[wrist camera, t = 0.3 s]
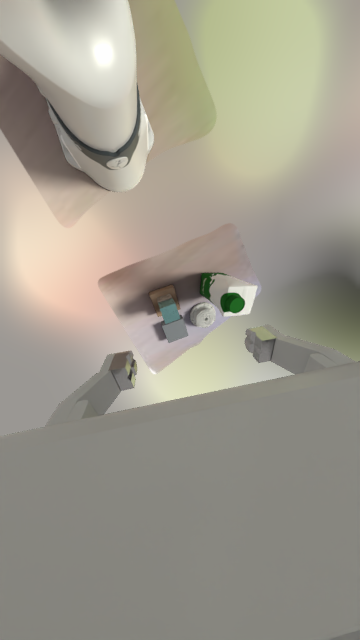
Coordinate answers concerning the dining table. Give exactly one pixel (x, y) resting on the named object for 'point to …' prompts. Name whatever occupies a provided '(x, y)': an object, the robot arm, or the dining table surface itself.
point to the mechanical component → (202, 315)
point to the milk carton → (228, 293)
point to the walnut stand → (161, 292)
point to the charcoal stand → (175, 329)
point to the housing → (168, 308)
